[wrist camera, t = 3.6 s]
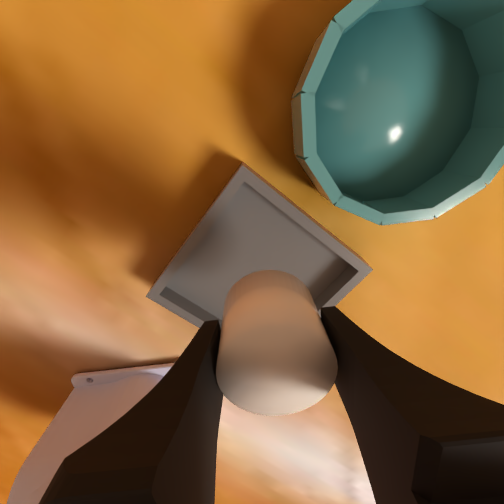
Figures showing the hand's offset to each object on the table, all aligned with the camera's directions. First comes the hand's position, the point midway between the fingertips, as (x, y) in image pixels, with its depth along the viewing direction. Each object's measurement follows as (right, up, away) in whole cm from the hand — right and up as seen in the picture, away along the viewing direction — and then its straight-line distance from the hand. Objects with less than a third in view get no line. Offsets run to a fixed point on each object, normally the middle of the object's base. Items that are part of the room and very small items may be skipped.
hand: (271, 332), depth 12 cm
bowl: (+6, +11, +3) cm, 13 cm away
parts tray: (-1, +2, +7) cm, 7 cm away
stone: (0, +1, +2) cm, 2 cm away
